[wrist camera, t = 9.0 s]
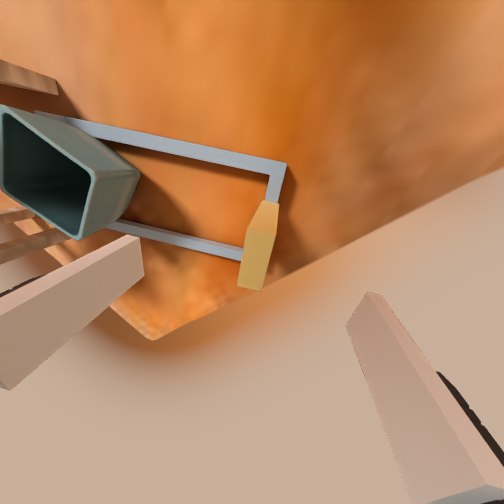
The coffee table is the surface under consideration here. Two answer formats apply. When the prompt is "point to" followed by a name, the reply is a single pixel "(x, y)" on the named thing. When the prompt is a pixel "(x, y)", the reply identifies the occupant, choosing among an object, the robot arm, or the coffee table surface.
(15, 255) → the shelf
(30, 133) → the flower pot
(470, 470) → the robot arm
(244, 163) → the frame with square tube
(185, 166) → the coffee table surface
